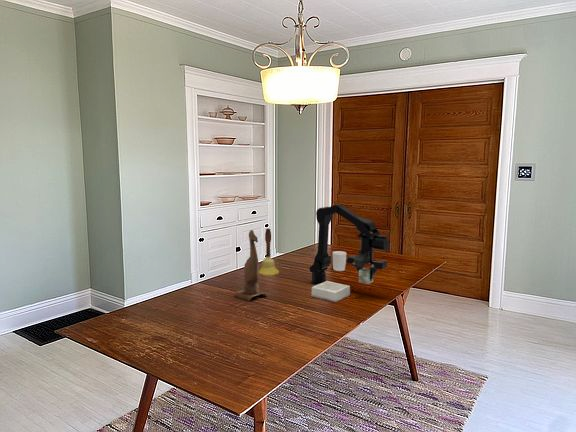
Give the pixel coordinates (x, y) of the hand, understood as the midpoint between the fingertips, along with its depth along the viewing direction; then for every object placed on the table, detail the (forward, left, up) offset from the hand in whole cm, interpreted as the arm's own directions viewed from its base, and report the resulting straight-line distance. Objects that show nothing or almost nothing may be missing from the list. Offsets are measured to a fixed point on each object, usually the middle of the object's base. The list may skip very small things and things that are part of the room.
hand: (365, 279), depth 206 cm
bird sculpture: (-40, -37, -7) cm, 55 cm away
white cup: (-33, +29, -7) cm, 45 cm away
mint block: (0, 0, -1) cm, 1 cm away
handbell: (-61, -1, -7) cm, 62 cm away
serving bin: (-12, -13, -7) cm, 18 cm away
